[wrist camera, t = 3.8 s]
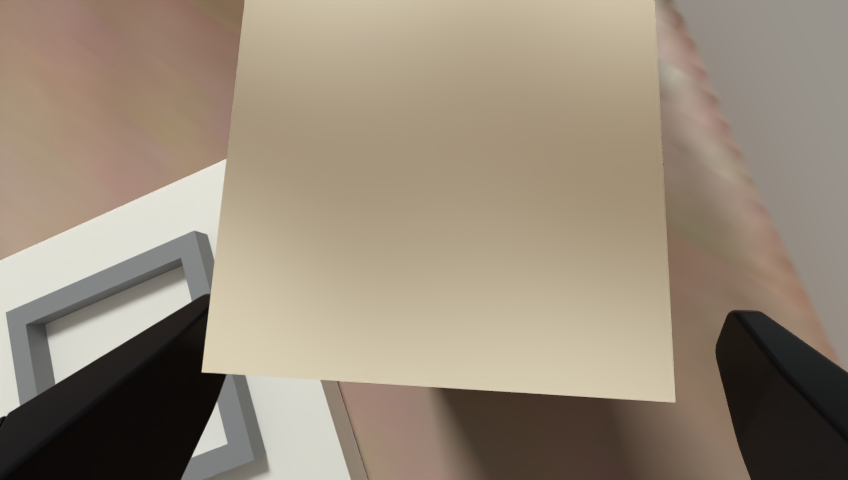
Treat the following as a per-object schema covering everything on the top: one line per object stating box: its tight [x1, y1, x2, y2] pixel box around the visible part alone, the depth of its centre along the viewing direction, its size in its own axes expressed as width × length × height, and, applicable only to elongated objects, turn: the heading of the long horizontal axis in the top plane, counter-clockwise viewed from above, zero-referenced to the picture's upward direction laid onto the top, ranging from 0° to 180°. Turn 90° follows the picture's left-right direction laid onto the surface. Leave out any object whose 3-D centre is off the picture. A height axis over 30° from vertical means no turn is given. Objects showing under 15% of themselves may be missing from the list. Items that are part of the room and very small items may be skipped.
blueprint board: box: [0, 159, 368, 480], centre depth 18 cm, size 14×14×2 cm
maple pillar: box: [202, 0, 675, 402], centre depth 12 cm, size 5×5×13 cm
